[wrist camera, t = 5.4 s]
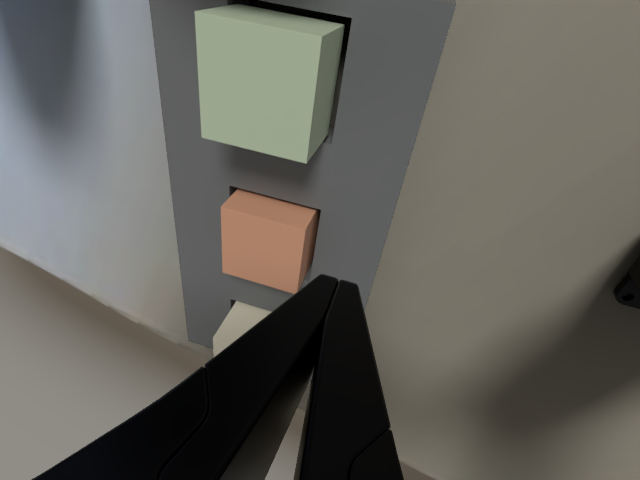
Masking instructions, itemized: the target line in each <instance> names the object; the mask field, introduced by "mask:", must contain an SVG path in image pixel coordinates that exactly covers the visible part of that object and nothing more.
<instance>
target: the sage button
mask: <svg viewBox="0 0 640 480" xmlns="http://www.w3.org/2000/svg"><path fill="white" fill-rule="evenodd" d="M344 28H345V24H340V23H335V22H330V21H325V20H320V19H314V18H309V17H304V16H299V15H294V14H289V13H284V12H279V11H273V10H268V9H263V8H258V7H253V6H248V5H243V4H235V5H228V6H222V7H216V8H210V9H204V10H198V11H195V29H196V46H197V64H198V82H199V100H200V118H201V136H202V138H205V139H209V140H213V141H217V142H221V143H225V144H229V145H233V146H237V147H241V148H245V149H249V150H253V151H257V152H261V153H265V154H269V155H273V156H277V157H281V158H285V159H289V160H293V161H297V162H301V163H306V164H307V162H308V161H309V160H310V158H311V157H312V155H313V154H314V153H315V151H316V150H317V149H318V147H319V146H320V144H321V143H322V142H323V140H324V139H325V138H326V136H327V135H328V133H329V126H330V120H331V113H332V107H333V100H334V94H335V87H336V81H337V74H338V67H339V61H340V54H341V48H342V41H343V35H344Z"/></svg>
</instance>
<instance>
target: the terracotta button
mask: <svg viewBox="0 0 640 480" xmlns="http://www.w3.org/2000/svg"><path fill="white" fill-rule="evenodd" d="M320 213H321V210H320V209H316V208H312V207H308V206H305V205H301V204H297V203H293V202H290V201H286V200H282V199H278V198H274V197H271V196H267V195H263V194H259V193H256V192H252V191H248V190H244V189H240V188H238V189H237V190H236V191H235V192H234V193H233V194H232V195H231V196H230V197H229V198H228V199H227V201H226V202H225V203H224V204H223V205H222V206H221V236H222V272H223V273H226V274H229V275H233V276H236V277H239V278H243V279H246V280H250V281H253V282H256V283H260V284H263V285H266V286H270V287H273V288H276V289H280V290H283V291H286V292H290V293H293V294H295V293H297V292H298V291H299V289H300V286H301V284H302V282H303V280H304V278H305V276H306V274H307V271H308V269H309V267H310V265H311V263H312V261H313V257H314V251H315V245H316V238H317V232H318V226H319V220H320Z"/></svg>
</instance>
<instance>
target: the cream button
mask: <svg viewBox="0 0 640 480" xmlns="http://www.w3.org/2000/svg"><path fill="white" fill-rule="evenodd" d="M270 313H271V311H268V310H265V309H261V308H258V307H255V306H252V305H248V304H245V303H242V302H239V301H236V302H235V304H234V306H233V307H232V309H231V310H230V312H229V313H228V315H227V317H226V318H225V320H224V321H223V323H222V324H221V326H220V327H219V329H218V331H217V332H216V334H215V335H214V337H213V352H214V357H215V356H216V355H217V354H219V353H220V352H221V351H222V350H224V349H225V348H226V347H228V346H229V345H230V344H231V343H233V342H234V341H235V340H237V339H238V338H239V337H240V336H242V335H243V334H244V333H245V332H247V331H248V330H249V329H251V328H252V327H253V326H254V325H256V324H257V323H258V322H260V321H261V320H262V319H263V318H265V317H266V316H267V315H268V314H270Z"/></svg>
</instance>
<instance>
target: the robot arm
mask: <svg viewBox="0 0 640 480" xmlns="http://www.w3.org/2000/svg"><path fill="white" fill-rule="evenodd" d="M627 293H630V294H629V295H626V296H623V295H624V294H627ZM613 294H614V297H615V299H616V300H617V301H618V303H621V304H623V305H627V306H631V307H634V308H638V309H640V257H639V259H638V260H637V261H636V262H635V263H634V265H633V266H632V267H631V268H630V269H629V273H628V274H627V275H626V276H625V277H624V279H623V280H622V281H621V282H620V283H619V285H618V286H617V287H616V288H615V289H614V291H613ZM312 373H313V375H312ZM311 375H312V380H311V385H310V390H309V396H308V401H307V407H306V412H305V418H304V424H303V429H302V435H301V441H300V446H299V452H298V457H297V463H296V469H295V475H294V480H404V478H403V474H402V470H401V467H400V463H399V459H398V455H397V451H396V447H395V442H394V438H393V434H392V431H391V430H389V429H390V421H389V417H388V413H387V408H386V404H385V400H384V395H383V391H382V387H381V382H380V378H379V374H378V369H377V365H376V360H375V356H374V352H373V347H372V343H371V339H370V334H369V330H368V326H367V321H366V317H365V313H364V308H363V304H362V299H361V295H360V291H359V287H358V285H357V284H356V283H353V282H349V281H346V280H340V281H339V282H338V279H337V278H335V277H332V276H328V275H325V274H320V275H318V276H317V277H316V278H314V279H313V280H312V281H311V282H309V283H308V284H307V285H305V286H304V287H303V288H302V289H300V290H299V291H298V292H297V293H295V294H294V295H293V296H291V297H290V298H289V299H288V300H286V301H285V302H284V303H282V304H281V305H280V306H279V307H277V308H276V309H275V310H274V311H272V312H271V313H270V314H268V315H267V316H266V317H265V318H263V319H262V320H261V321H260V322H258V323H257V324H256V325H254V326H253V327H252V328H251V329H249V330H248V331H247V332H245V333H244V334H243V335H242V336H240V337H239V338H238V339H237V340H235V341H234V342H233V343H231V344H230V345H229V346H228V347H226V348H225V349H224V350H222V351H221V352H220V353H219V354H217V355H216V356H215V357H214V358H212V359H211V360H210V361H208V362H207V363H206V364H205V368H204V367H200V369H198V370H197V371H195V372H194V373H193V374H192V375H190V376H189V377H188V378H186V379H185V380H184V381H183V382H181V383H180V384H179V385H177V386H176V387H175V388H173V389H172V390H170V391H169V392H168V393H166V394H165V395H164V396H162V397H161V398H160V399H158V400H156V401H155V402H153V403H152V404H150V405H149V406H147V407H146V408H145V409H143V410H141V411H140V412H138V413H137V414H135V415H134V416H132V417H131V418H129V419H128V420H126V421H125V422H123V423H121V424H120V425H118V426H117V427H115V428H114V429H112V430H110V431H109V432H107V433H106V434H104V435H102V436H101V437H99V438H98V439H96V440H95V441H93V442H91V443H90V444H88V445H87V446H85V447H83V448H82V449H80V450H79V451H77V452H76V453H74V454H72V455H71V456H69V457H68V458H66V459H64V460H63V461H61V462H60V463H58V464H57V465H55V466H53V467H52V468H50V469H49V470H47V471H45V472H44V473H42V474H40V475H39V476H37V477H35V478H33V479H32V480H265V477H266V475H267V473H268V471H269V468H270V466H271V464H272V462H273V460H274V458H275V455H276V453H277V451H278V449H279V446H280V444H281V442H282V440H283V438H284V435H285V433H286V431H287V429H288V427H289V425H290V422H291V420H292V418H293V416H294V414H295V411H296V409H297V407H298V405H299V403H300V400H301V398H302V396H303V394H304V392H305V389H306V387H307V385H308V383H309V380H310V378H311Z"/></svg>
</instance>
